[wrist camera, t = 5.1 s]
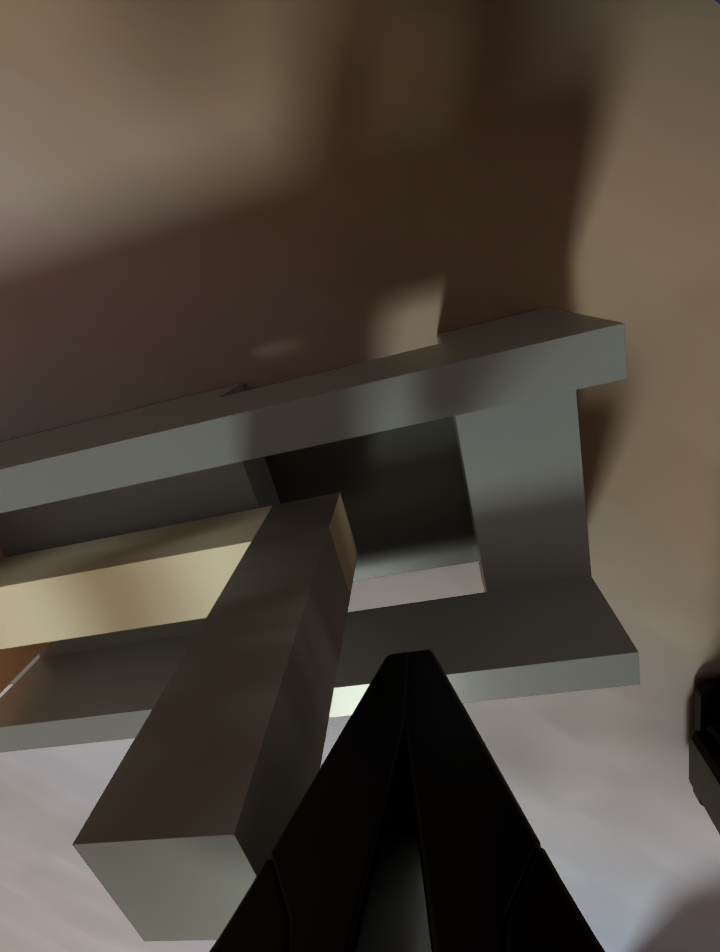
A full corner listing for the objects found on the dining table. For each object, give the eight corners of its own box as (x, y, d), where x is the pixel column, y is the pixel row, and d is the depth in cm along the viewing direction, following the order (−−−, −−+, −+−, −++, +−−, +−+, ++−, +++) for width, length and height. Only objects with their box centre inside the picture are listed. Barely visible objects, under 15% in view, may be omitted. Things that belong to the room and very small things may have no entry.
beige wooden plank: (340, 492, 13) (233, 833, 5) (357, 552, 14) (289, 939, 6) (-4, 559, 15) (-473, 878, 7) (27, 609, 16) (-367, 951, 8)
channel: (546, 307, 13) (625, 322, 8) (571, 566, 16) (639, 684, 11) (-220, 496, 18) (-439, 572, 13) (-89, 666, 21) (-230, 776, 16)
